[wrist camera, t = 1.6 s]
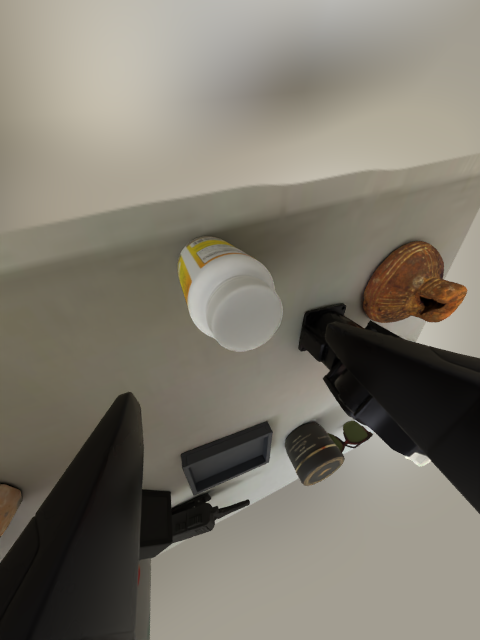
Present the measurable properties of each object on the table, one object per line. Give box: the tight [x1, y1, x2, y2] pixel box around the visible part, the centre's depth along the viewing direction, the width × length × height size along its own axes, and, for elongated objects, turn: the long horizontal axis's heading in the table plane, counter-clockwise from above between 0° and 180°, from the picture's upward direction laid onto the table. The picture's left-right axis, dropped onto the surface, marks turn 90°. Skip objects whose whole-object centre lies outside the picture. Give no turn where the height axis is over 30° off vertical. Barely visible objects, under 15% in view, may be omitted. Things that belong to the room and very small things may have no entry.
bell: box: [363, 241, 467, 323], centre depth 26 cm, size 12×12×7 cm
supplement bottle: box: [177, 236, 283, 352], centre depth 14 cm, size 6×6×10 cm
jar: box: [285, 422, 344, 486], centre depth 41 cm, size 10×10×8 cm
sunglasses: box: [328, 421, 373, 452], centre depth 52 cm, size 14×15×5 cm
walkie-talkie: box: [171, 494, 250, 543], centre depth 40 cm, size 6×6×20 cm
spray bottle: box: [135, 558, 151, 640], centre depth 36 cm, size 6×6×20 cm
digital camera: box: [139, 490, 173, 561], centre depth 31 cm, size 10×5×7 cm, turn 37°
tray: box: [181, 422, 273, 495], centre depth 36 cm, size 16×12×2 cm
